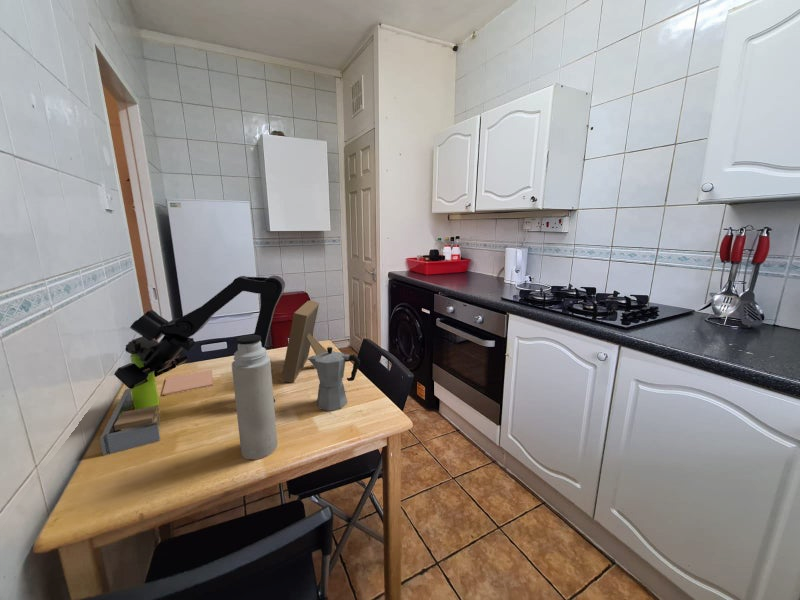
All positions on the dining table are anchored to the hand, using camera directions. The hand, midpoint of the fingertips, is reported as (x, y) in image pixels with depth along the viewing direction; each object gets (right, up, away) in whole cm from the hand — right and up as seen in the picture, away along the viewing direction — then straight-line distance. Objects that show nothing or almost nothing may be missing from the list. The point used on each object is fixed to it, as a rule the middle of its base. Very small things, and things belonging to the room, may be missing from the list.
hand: (139, 382), depth 95 cm
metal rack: (+6, -9, -5) cm, 12 cm away
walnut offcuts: (+8, -10, -10) cm, 16 cm away
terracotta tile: (+3, -4, +17) cm, 18 cm away
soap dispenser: (+1, -8, +1) cm, 8 cm away
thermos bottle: (+43, -11, -18) cm, 48 cm away
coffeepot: (+57, -7, +3) cm, 58 cm away
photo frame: (+42, -2, +28) cm, 51 cm away
